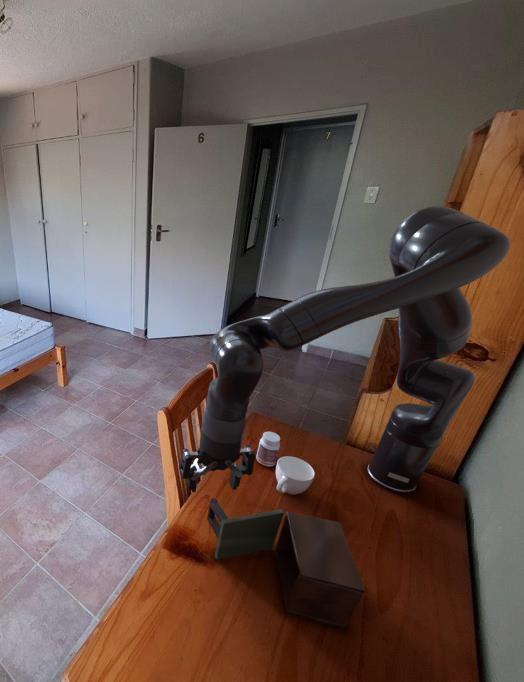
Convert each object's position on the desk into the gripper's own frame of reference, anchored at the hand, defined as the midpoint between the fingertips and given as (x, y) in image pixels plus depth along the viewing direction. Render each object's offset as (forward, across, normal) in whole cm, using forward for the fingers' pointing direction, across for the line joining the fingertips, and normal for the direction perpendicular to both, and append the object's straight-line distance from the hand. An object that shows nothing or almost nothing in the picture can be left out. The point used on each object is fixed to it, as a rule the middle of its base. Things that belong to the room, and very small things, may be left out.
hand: (212, 487), depth 76 cm
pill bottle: (+12, +23, +18) cm, 31 cm away
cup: (+12, +23, +8) cm, 27 cm away
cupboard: (+12, +14, -14) cm, 23 cm away
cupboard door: (+12, +5, -4) cm, 13 cm away
